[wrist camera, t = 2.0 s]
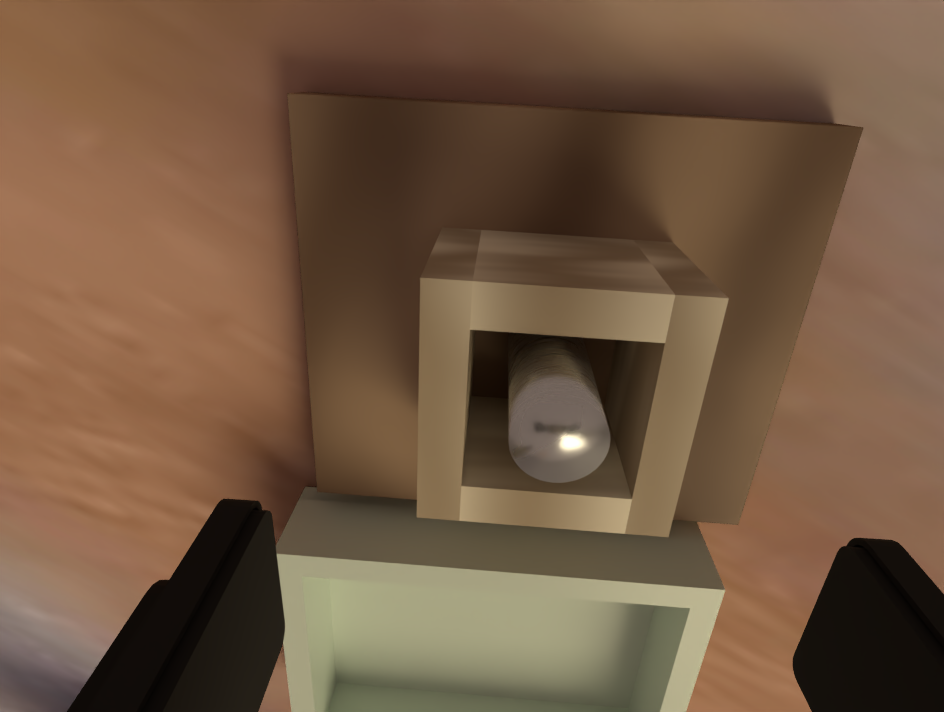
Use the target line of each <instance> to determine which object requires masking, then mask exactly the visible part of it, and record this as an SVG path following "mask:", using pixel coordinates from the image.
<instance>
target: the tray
mask: <svg viewBox="0 0 944 712" xmlns="http://www.w3.org/2000/svg"><path fill="white" fill-rule="evenodd" d="M276 553H277V561H278V569H279V578H280V586H281V594H282V602H283V610H284V619H285V634H284V640H283V646H284V654H285V662H286V670H287V678H288V686H289V695H290V703H291V711H292V712H686V710H687V707H688V704H689V701H690V698H691V695H692V692H693V688H694V685H695V682H696V679H697V676H698V673H699V670H700V667H701V664H702V661H703V657H704V654H705V651H706V648H707V645H708V642H709V639H710V636H711V633H712V630H713V627H714V623H715V620H716V617H717V614H718V611H719V608H720V605H721V602H722V599H723V596H724V592H725V588H724V586H723V584H722V581H721V579H720V576H719V574H718V572H717V569H716V567H715V565H714V562H713V560H712V558H711V555H710V553H709V550H708V548H707V546H706V543H705V541H704V539H703V536H702V534H701V531H700V529H699V527H698V524H697V522H695V521H682V520H673V521H672V525H671V529H670V533H669V537H658V536H646V535H633V534H620V533H608V532H595V531H582V530H570V529H557V528H544V527H531V526H519V525H506V524H493V523H481V522H468V521H455V520H443V519H430V518H417V500H413V499H400V498H387V497H374V496H362V495H349V494H336V493H323V492H317V487H305V488H304V490H303V492H302V494H301V496H300V498H299V500H298V502H297V504H296V506H295V508H294V510H293V512H292V514H291V516H290V518H289V520H288V522H287V524H286V526H285V528H284V531H283V533H282V535H281V537H280V539H279V541H278V543H277V545H276Z"/></svg>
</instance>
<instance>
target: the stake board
mask: <svg viewBox="0 0 944 712" xmlns="http://www.w3.org/2000/svg"><path fill="white" fill-rule="evenodd" d="M287 98H288V111H289V124H290V138H291V151H292V164H293V178H294V191H295V204H296V218H297V231H298V244H299V257H300V271H301V284H302V297H303V311H304V324H305V337H306V351H307V364H308V377H309V391H310V404H311V417H312V431H313V444H314V457H315V470H316V484H317V492H323V493H336V494H349V495H362V496H374V497H387V498H400V499H413V500H417V462H418V396H419V331H420V277H421V275H422V273H423V270H424V268H425V266H426V263H427V261H428V259H429V257H430V254H431V252H432V250H433V247H434V245H435V243H436V241H437V238H438V236H439V234H440V231H441V229H442V227H445V228H460V229H476V230H491V231H506V232H522V233H537V234H552V235H568V236H583V237H598V238H614V239H629V240H644V241H660V242H673V243H674V244H675V245H676V246H677V247H678V248H679V249H680V250H681V251H682V252H683V253H684V254H685V255H686V256H687V257H688V258H689V259H690V260H691V261H692V262H693V263H694V264H695V265H696V266H697V267H698V268H699V269H700V270H701V271H702V272H703V273H704V274H705V275H706V276H707V277H708V278H709V279H710V280H711V281H712V282H713V283H714V284H715V285H716V286H717V287H718V288H719V289H720V290H721V291H722V292H723V293H724V294H725V295H726V296H727V297H728V298H729V300H728V304H727V308H726V312H725V316H724V320H723V324H722V328H721V332H720V336H719V340H718V343H717V347H716V351H715V355H714V359H713V363H712V367H711V371H710V375H709V379H708V383H707V387H706V391H705V395H704V399H703V403H702V407H701V411H700V415H699V418H698V422H697V426H696V430H695V434H694V438H693V442H692V446H691V450H690V454H689V458H688V462H687V466H686V470H685V474H684V478H683V482H682V486H681V490H680V493H679V497H678V501H677V505H676V509H675V513H674V517H673V520H682V521H695V522H708V523H720V524H733V525H738V524H739V520H740V517H741V514H742V511H743V508H744V505H745V501H746V498H747V495H748V492H749V489H750V486H751V482H752V479H753V476H754V473H755V470H756V467H757V463H758V460H759V457H760V454H761V451H762V448H763V444H764V441H765V438H766V435H767V432H768V429H769V425H770V422H771V419H772V416H773V413H774V409H775V406H776V403H777V400H778V397H779V394H780V390H781V387H782V384H783V381H784V378H785V375H786V371H787V368H788V365H789V362H790V359H791V356H792V352H793V349H794V346H795V343H796V340H797V337H798V333H799V330H800V327H801V324H802V321H803V318H804V314H805V311H806V308H807V305H808V302H809V299H810V295H811V292H812V289H813V286H814V283H815V279H816V276H817V273H818V270H819V267H820V264H821V260H822V257H823V254H824V251H825V248H826V245H827V241H828V238H829V235H830V232H831V229H832V226H833V222H834V219H835V216H836V213H837V210H838V207H839V203H840V200H841V197H842V194H843V191H844V188H845V184H846V181H847V178H848V175H849V172H850V169H851V165H852V162H853V159H854V156H855V153H856V149H857V146H858V143H859V140H860V137H861V134H862V130H863V128H862V127H855V126H849V125H842V124H833V123H816V122H799V121H782V120H765V119H748V118H731V117H715V116H698V115H681V114H664V113H647V112H630V111H613V110H596V109H579V108H563V107H546V106H529V105H512V104H495V103H478V102H461V101H444V100H428V99H411V98H394V97H377V96H360V95H343V94H326V93H309V92H299V93H287ZM508 339H509V332H498V331H483V330H476V331H475V348H474V364H473V381H472V396H479V397H493V398H506V399H509V386H508ZM583 340H584V343H585V347H586V350H587V354H588V357H589V361H590V364H591V368H592V371H593V375H594V378H595V382H596V385H597V389H598V392H599V396H600V399H601V403H602V406H605V401H606V395H607V389H608V383H609V378H610V372H611V366H612V360H613V354H614V348H615V343H616V340H612V339H598V338H584V337H583Z"/></svg>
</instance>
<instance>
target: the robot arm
mask: <svg viewBox="0 0 944 712" xmlns="http://www.w3.org/2000/svg"><path fill="white" fill-rule="evenodd" d="M284 634H285V619H284V610H283V602H282V594H281V586H280V578H279V569H278V561H277V553H276V545H275V536H274V528H273V520H272V514H271V512H270V511H266V510H262V507H261V504H260V503H259V501H251V500H235V499H223V500H221V501H220V502H219V503H218V504H217V506H216V507H215V509H214V510H213V512H212V514H211V515H210V517H209V518H208V520H207V521H206V523H205V525H204V526H203V528H202V529H201V531H200V532H199V534H198V536H197V537H196V539H195V540H194V542H193V543H192V545H191V547H190V548H189V550H188V551H187V553H186V555H185V556H184V558H183V559H182V561H181V562H180V564H179V566H178V567H177V569H176V570H175V572H174V573H173V575H172V577H171V578H170V580H159V581H158V582H156V583H155V584H153V585H152V586H151V587H150V589H149V590H148V591H147V592H146V594H145V595H144V597H143V598H142V600H141V601H140V603H139V604H138V606H137V607H136V609H135V610H134V612H133V613H132V615H131V616H130V618H129V619H128V621H127V622H126V624H125V625H124V627H123V628H122V630H121V631H120V633H119V634H118V636H117V637H116V639H115V640H114V642H113V643H112V645H111V646H110V648H109V649H108V651H107V652H106V654H105V655H104V657H103V658H102V660H101V661H100V663H99V664H98V666H97V667H96V669H95V670H94V672H93V673H92V675H91V676H90V678H89V679H88V681H87V682H86V684H85V685H84V687H83V688H82V690H81V691H80V693H79V694H78V696H77V697H76V699H75V700H74V702H73V703H72V705H71V706H70V708H69V709H68V711H67V712H258V711H259V708H260V705H261V702H262V700H263V697H264V694H265V691H266V689H267V686H268V683H269V681H270V678H271V675H272V672H273V670H274V667H275V664H276V661H277V659H278V656H279V653H280V650H281V647H282V644H283V640H284ZM793 671H794V675H795V678H796V680H797V683H798V685H799V687H800V689H801V691H802V693H803V695H804V697H805V699H806V701H807V703H808V705H809V707H810V709H811V711H812V712H944V594H943V593H942V592H941V591H940V589H939V588H938V587H937V586H936V585H935V584H934V582H933V581H932V580H931V579H930V578H929V577H928V576H927V574H926V573H925V572H924V571H923V570H922V569H921V567H920V566H919V565H918V564H917V563H916V562H915V560H914V559H913V558H912V557H911V556H910V555H909V554H908V552H907V551H906V550H905V549H904V548H903V547H902V546H901V545H900V544H899V543H898V542H895V541H893V540H884V539H868V538H854V539H852V540H851V541H849V543H848V544H847V546H843V547H841V548H840V549H839V551H838V552H837V555H836V557H835V559H834V562H833V564H832V566H831V569H830V571H829V573H828V576H827V578H826V580H825V583H824V585H823V587H822V590H821V592H820V595H819V597H818V599H817V602H816V604H815V606H814V609H813V611H812V613H811V616H810V618H809V620H808V623H807V625H806V628H805V630H804V632H803V635H802V637H801V639H800V642H799V644H798V646H797V649H796V651H795V653H794V657H793Z"/></svg>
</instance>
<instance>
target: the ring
mask: <svg viewBox="0 0 944 712" xmlns="http://www.w3.org/2000/svg"><path fill="white" fill-rule="evenodd" d="M728 300H729V298H728V297H727V296H726V295H725V294H724V293H723V292H722V291H721V290H720V289H719V288H718V287H717V286H716V285H715V284H714V283H713V282H712V281H711V280H710V279H709V278H708V277H707V276H706V275H705V274H704V273H703V272H702V271H701V270H700V269H699V268H698V267H697V266H696V265H695V264H694V263H693V262H692V261H691V260H690V259H689V258H688V257H687V256H686V255H685V254H684V253H683V252H682V251H681V250H680V249H679V248H678V247H677V246H676V245H675V244H674V243H673V242H660V241H644V240H629V239H614V238H598V237H583V236H568V235H552V234H537V233H522V232H506V231H491V230H476V229H460V228H445V227H442V229H441V231H440V234H439V236H438V238H437V241H436V243H435V245H434V247H433V250H432V252H431V254H430V257H429V259H428V261H427V263H426V266H425V268H424V270H423V273H422V275H421V277H420V331H419V396H418V462H417V518H430V519H443V520H455V521H468V522H481V523H493V524H506V525H519V526H531V527H544V528H557V529H570V530H582V531H595V532H608V533H620V534H633V535H646V536H658V537H669V533H670V529H671V525H672V521H673V517H674V513H675V509H676V505H677V501H678V497H679V493H680V490H681V486H682V482H683V478H684V474H685V470H686V466H687V462H688V458H689V454H690V450H691V446H692V442H693V438H694V434H695V430H696V426H697V422H698V418H699V415H700V411H701V407H702V403H703V399H704V395H705V391H706V387H707V383H708V379H709V375H710V371H711V367H712V363H713V359H714V355H715V351H716V347H717V343H718V340H719V336H720V332H721V328H722V324H723V320H724V316H725V312H726V308H727V304H728ZM476 330H483V331H498V332H512V333H526V334H541V335H555V336H569V337H584V338H598V339H612V340H616V343H615V348H614V354H613V360H612V366H611V372H610V378H609V383H608V389H607V395H606V401H605V406H603V410H604V413H605V417H606V420H607V424H608V427H609V432H610V447H609V451H608V453H607V455H606V457H605V459H604V461H603V462H602V463H601V464H600V466H599V467H598V468H597V469H596V470H594V471H593V472H592V473H590V474H589V475H587V476H585V477H583V478H581V479H578V480H575V481H571V482H564V483H552V482H546V481H542V480H539V479H536V478H534V477H532V476H530V475H528V474H527V473H525V472H524V471H523V470H522V469H520V467H519V466H518V465H517V464H516V463H515V461H514V460H513V458H512V456H511V453H510V450H509V399H506V398H493V397H479V396H472V381H473V364H474V348H475V331H476Z"/></svg>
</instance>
